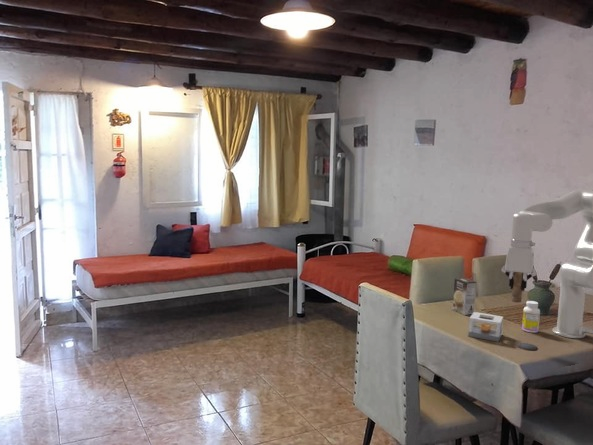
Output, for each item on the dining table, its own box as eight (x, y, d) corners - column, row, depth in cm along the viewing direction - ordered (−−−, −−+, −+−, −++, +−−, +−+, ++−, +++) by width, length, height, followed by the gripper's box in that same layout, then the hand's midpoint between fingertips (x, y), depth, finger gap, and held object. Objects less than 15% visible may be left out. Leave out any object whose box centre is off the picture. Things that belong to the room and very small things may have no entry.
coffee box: (451, 309, 257) (453, 278, 255) (462, 308, 259) (464, 277, 257) (463, 315, 249) (466, 282, 247) (474, 314, 251) (477, 281, 249)
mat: (537, 346, 210) (537, 345, 210) (536, 351, 204) (536, 350, 204) (519, 342, 213) (519, 341, 213) (517, 348, 207) (517, 347, 207)
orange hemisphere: (491, 329, 221) (491, 325, 221) (489, 332, 218) (490, 327, 218) (481, 327, 223) (481, 323, 223) (479, 330, 220) (480, 325, 219)
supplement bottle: (524, 327, 234) (526, 299, 232) (540, 330, 229) (542, 302, 228) (519, 330, 228) (522, 302, 227) (535, 334, 224) (538, 305, 223)
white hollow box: (501, 334, 222) (503, 316, 221) (498, 341, 214) (499, 322, 213) (472, 329, 228) (473, 311, 227) (468, 336, 219) (469, 317, 218)
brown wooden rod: (521, 300, 211) (524, 267, 209) (520, 303, 208) (523, 268, 206) (512, 299, 213) (514, 266, 211) (510, 301, 210) (513, 267, 208)
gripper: (544, 245, 206) (541, 290, 209) (500, 240, 215) (497, 284, 217) (542, 247, 200) (538, 294, 202) (497, 243, 208) (494, 288, 211)
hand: (517, 288), depth 210 cm, fingers closed on brown wooden rod, 3 cm apart
